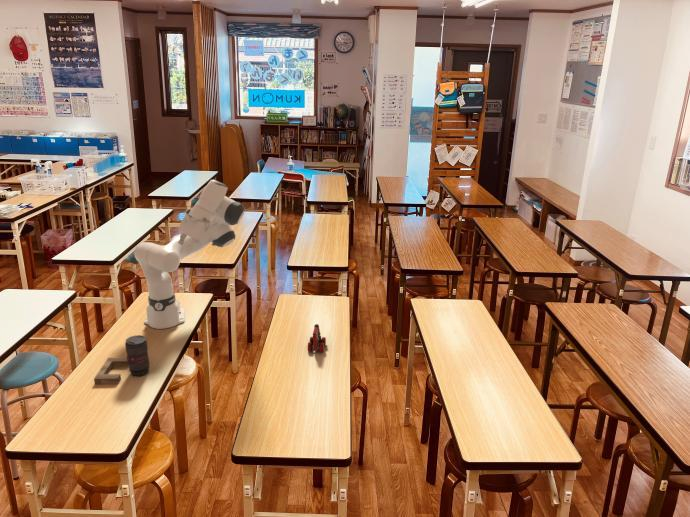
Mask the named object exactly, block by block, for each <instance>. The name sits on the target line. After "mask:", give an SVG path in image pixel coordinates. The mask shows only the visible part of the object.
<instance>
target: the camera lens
mask: <svg viewBox="0 0 690 517" xmlns="http://www.w3.org/2000/svg"><path fill="white" fill-rule="evenodd" d="M124 345H125V346H124V347H125V352H126V357H127V361H128V366H127V367H128V369H129V370H128V371H129V372H130V374H131V377H132V376H133V377H136V378H138V377H143V376H145V375H146V376H147V374H149V370H150V369H149V368H150V358H149V352H148V349H149V346H148V341H147V338H146V336H144V335H141V334H139V335H136V334H135V335H132V336H131V335H130V336H129V337H128V338H126V339H125V344H124Z"/></svg>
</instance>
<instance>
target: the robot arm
mask: <svg viewBox="0 0 690 517" xmlns="http://www.w3.org/2000/svg"><path fill="white" fill-rule="evenodd" d="M228 188H229V187H228V186H227V185H226V184H225V183H222V182H220V181H218V180H216V179H210V180H209V182H208V183H207V184H206V186H204V188H203V190H202V191H201V192H200V196H199V197H198V200H197V202H196V203H195V204H194V205H193V207H191V208H188V209H187V210H186V211H185V213H184V214H185V215H184V216H183V218H182V220H181V222H180V224H179V226H178V229H177V230H178V232H180V234H177V235H174V236H172V238H171V239H170V241H169V242H168V243H167V244H165V245H161V244H157V243H155V242H143V241H142V242H141V243H139V244H138V245H137V246H136V247H135V249H134V253H133V254H134V258H135V259H136V261H137V262H138V263H139V265H140V267H141V270H142V272H143V275H144V277H145V280H146V284H147V291H148V298H147V301H148V305H147V306H146V309H145V310H146V319H144V324H146V325H148V326H149V327H150V328H153V329H157V330H161V329H169V328H172V327H175V326H177V325H179V324H183V323H185V320H186V317H185V316H186V308H184V307H181V306H180V301H179V300H178V299H177V298H176V295H175V294H176V289H175V290H174V286H173V279H172V277H171V275H170V274H169V273H171V272H172V273H173V272H175V271H176V270H177V269H178V268H179V266H180V265H181V264H180V263H181V261H182V260H183V259H185V258H187V257H189V256H191V255H193V254H195V253H197V252H199V251H201V250H203V249H205V248H206V247H207V246H209V245H210V244H211V246H213V247H214V246H215V247H217V248H224V247H228V246H230V245H231V244H232V243H233V242H234V241H236V240H235V239H236V237H237V236H236V234H235V231H234V230H233V229H232V227H231V226H235V225H239V223H240V222H241V221H242V219H243V217H244V216H245V207H244V204H243V203H241V202H238V201H235V200H234V199H232V198H230V197H228V196H226V194H227V192H228V190H229V189H228Z"/></svg>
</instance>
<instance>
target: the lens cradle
mask: <svg viewBox="0 0 690 517" xmlns="http://www.w3.org/2000/svg"><path fill="white" fill-rule="evenodd" d="M114 366H120V367H128V361H127V356H126V357H125V356H124V357H123V356H122V357H108V358H107V359H106V360H105V362H104V363H103V365H102V366H101V368H100V370H99V371H98V372H97V373H96V375H95V376H94V379H93V381H94V385H116V384H117V385H119V384H120V383H121V380H122V377H121V373H114V374H111V373H110V372H111V370H112V369H113V367H114Z"/></svg>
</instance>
